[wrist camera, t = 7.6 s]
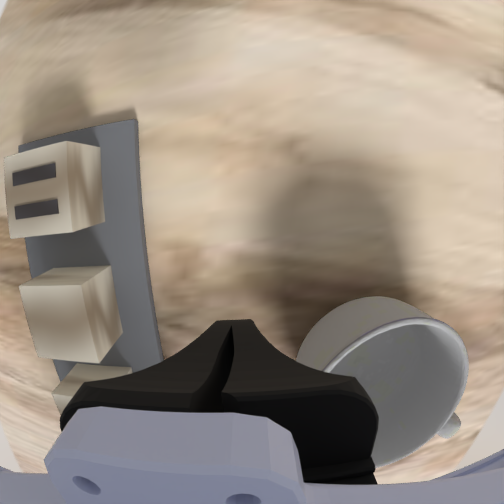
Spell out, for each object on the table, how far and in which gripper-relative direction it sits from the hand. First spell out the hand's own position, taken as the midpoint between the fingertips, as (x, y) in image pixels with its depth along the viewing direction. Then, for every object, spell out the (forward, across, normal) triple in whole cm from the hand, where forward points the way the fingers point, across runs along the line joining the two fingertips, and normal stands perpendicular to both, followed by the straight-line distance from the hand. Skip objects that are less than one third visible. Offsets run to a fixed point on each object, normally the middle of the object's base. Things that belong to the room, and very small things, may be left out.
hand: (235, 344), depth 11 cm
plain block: (+10, +11, +2) cm, 15 cm away
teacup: (+11, -9, +8) cm, 16 cm away
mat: (+10, +11, +2) cm, 15 cm away
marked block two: (+10, +11, -6) cm, 16 cm away
